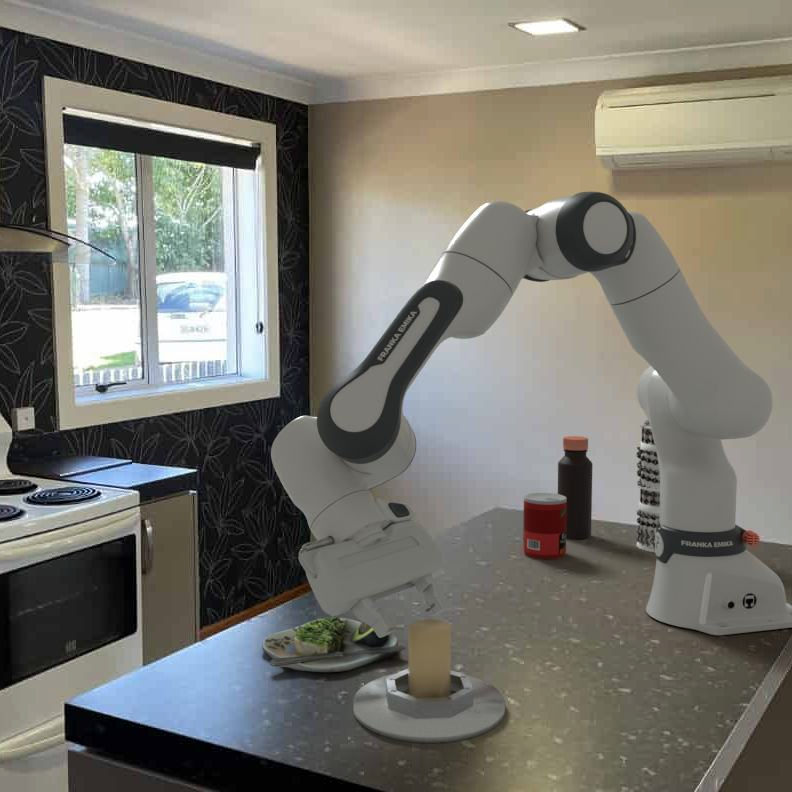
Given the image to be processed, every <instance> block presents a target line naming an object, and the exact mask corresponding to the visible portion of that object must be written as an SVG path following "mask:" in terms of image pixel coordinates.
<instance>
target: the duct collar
mask: <svg viewBox="0 0 792 792" xmlns="http://www.w3.org/2000/svg"><path fill="white" fill-rule="evenodd" d="M505 700H506V699H505V697H504V695H503V694H502V692H500V690H499V689H498V688H497V687H495V686H493V685H492V684H491V683H488V682H487V681H484V680H482V679H480V678H477V677H475V676H474V677H473V676H471V675H467V674H464V673H461V672H458V671H455V670H453V669H452V670H451V696H449V697H440V698H416V697H413V696H411V695H409V667H407V668H405V669H403V670H401V671H398V672H397V673H392V674H388V675H384V676H381V677H378V678H376V679H373V680H371V681H369V682H367V683H366V684H365V685H362V687H360V688H359V689H358V690H357V692H356V693H355V695H354V697H353V714H354V716H355V718H356V720H357V721H358V723H360V724H361V725H362V726H363V727H364V728H366V729H368V730H369V731H371V732H374V733H376V734H378V735H380V736H384V737H387V738H391V739H393V740H399V741H405V742H410V743H412V742H413V743H422V744H423V743H426V744H427V743H428V744H431V743H434V744H435V743H437V744H440V743H450V742H451V743H452V742H457V741H458V742H459V741H464V740H469V739H471V738H476V737H478V736H481V735H483V734H486V733H488V732H490V731H491V730H493V729H494V728H496V727H497V726H498V725H499V724H500V723H501V722H502V721H503V719H504V718H505V713H506V712H505V711H506V708H505V707H506V701H505Z"/></svg>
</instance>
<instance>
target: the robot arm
mask: <svg viewBox="0 0 792 792" xmlns="http://www.w3.org/2000/svg"><path fill="white" fill-rule="evenodd" d="M443 250H444V251H443V252H442V253H441V255H440V256H439V258H438V260H436V262H435V264H434V266H433V268H432V269H431V271H430V272H429V274H428V275H427V277H426V278H425V280H424V281H423V283H422V285H420V287H419V288H418V289H417V290H416V292H414V294H413V295H411V297H410V298H409V299H408V301H407V302H406V303H405V304H404V306H403V307H402V308H401V310H400V311H399V312H398V313H397V315H396V316H395V317H394V319H393V320H392V322H391V323H390V324H389V326H388V327H387V329H386V330H385V331H384V332H383V334H382V336H381V337H380V338H379V339H378V341H377V342H376V344H375V345H374V346H373V347H372V349H371V351H370V352H369V353H368V355H367V356H366V357H365V358H364V360H363V361H362V362H361V363H360V364H359V365H358V366H357V367H356V368H355V369H353V370H352V371H351V372H350V373H349V374H347V375H346V376H344V377H343V378H341V379H340V380H339V381H337V382H336V383H335V384H334V385H333V386H332V387H330V389H329V390H328V391H327V392H326V393H325V395H324V396H323V398H322V399H321V401H320V403H319V405H318V408H317V413H316V414H317V415H316V416H310V415H302V416H299V417H296V418H295V419H293V420H291V421H290V422H289V423H287V424H286V425H285V426H283V428H282V429H281V430H280V431H279V432H278V433H277V435H276V436H275V438H274V441H273V442H272V445H271V449H270V458H271V463H272V465H273V468H274V471H275V472H276V475H277V477H278V479H279V481H280V483H281V484H282V486H283V488H284V490H285V492H286V494H287V495H288V496H289V498H290V499H291V501H292V503H293V504H294V506H295V507H297V508H298V509H299V510H300V511H301V512H302V513H303V514H304V516H305V518H306V520H307V524H308V527H309V529H310V531H311V533H312V534H313V536H314V538H315V539H316V540H315V541H309V542H306V543H303V545H301V548H300V550H299V551H298V561H299V563H300V565H301V566H302V568H303V570H304V572H305V575H306V578H307V581H308V583H309V586H310V588H311V590H312V592H313V595H314V597H315V598H316V601H317V603H318V604H319V606H320V607H321V610H322V611H323V612H324V613H326V614H327V615H329V616H331V617H338V616H339V615H342V614H345V613H348V612H350V611H352V612H353V614H354V616H355V617H356V618H357V619H358V620H360V621H362V623H363V622H364V623H366V624H367V625H369V626H370V627H372V628H373V630H374V631H375V633H376V634H377V636H378V637H379V638H382V637H384V636H386V635H389V634H392V632H393V631H394V630H395V625H394V623H393V622H392V621H391V618H390V617H389V616H388V615H385V616H382V615H381V614H380V613H379V612H378V611H377V610H376V609H374V608H373V606H374V603H375V602H377V601H381V600H384V599H386V598H388V597H391V596H395V595H397V594H399V593H402V592H404V591H408V590H410V589H412V588H416V590H417V591H418V593H420V594H423V598H424V600H425V603H424V604H423V605H422V608H423V610H424V612H426V614H427V616H429V617H430V618H431V617H434V616H437V615H440V614H441V613H442V612H443V611H444V610H445V606H444V605H445V604H443V602H442V601H441V599H440V598H439V592H438V587H437V586H438V585H437V581H436V578H437V577H438V576H439V575H441V573H442V572H443V571H444V570H445V569H446V565H447V564H446V563H447V561H446V557H445V555H444V552H443V551H442V550H441V548H440V547H439V545H438V544H437V542H436V540H434V538H433V537H432V535H431V534H430V532H428V529H426V527H424V525H423V524H422V523H420V522H418V521H416V520H413V518H414V517H415V516H416V515H415V510H414V509H413V508H412V506H411V505H410V504H408V503H406V502H401V501H400V502H398V501H393V500H392V501H391V500H386V499H383V498H380V497H379V498H378V497H374V496H373V495H372V494H371V492H370V491H369V490H372V489H374V488H377V487H379V486H381V485H382V484H385V483H386V482H387V483H388V482H389V481H391V480H393V479H394V478H396V477H399V476H400V475H401V474H402V473H404V472H405V471H407V469H409V467H410V465H411V463H412V462H413V461H414V458H415V455H416V452H417V438H416V435H415V432H414V429H413V428H412V426H411V424H410V422H409V420H408V418H406V416H405V415H404V413H403V408H404V402H405V397H406V394H407V392H408V390H409V389H410V387H411V386H412V384H413V383H414V381H415V380H416V378H417V377H418V375H419V374H420V372H421V371H422V369H424V367H425V366H426V364H427V362H428V361H429V360H430V358H431V357H432V355H433V354H434V353H435V351H436V350H437V348H438V347H439V346H440V345H441V344H442V343H443V342H444V341H446V340H447V339H450V338H453V339H458V340H459V339H460V340H468V339H474V338H477V337H480V336H482V335H484V334H485V333H486V332H487V331H489V330H490V328H491V327H492V326H493V325H494V324H495V322H496V321H498V319H499V318H500V317H501V315H502V313H503V312H504V311H505V309H506V307H507V306H508V305H509V303H510V301H511V300H512V297H513V296H514V294H515V292H516V290H518V289H517V288H518V287H519V284H520V283H521V281H522V280H523V279H524V280H527V281H531V282H538V283H542V282H543V283H545V282H548V281H563V280H570V279H574V278H577V277H579V276H580V275H581V276H582V275H584V274H587V273H589V274H591V275H592V276H593V277H594V278H595V279H596V280H597V282H598V283H599V285H600V286H601V290H602V292H603V294H604V296H605V298H606V300H607V301H608V303H609V306H610V308H611V310H612V312H613V314H614V315H615V317H616V320H617V321H618V323H619V325H620V327H621V329H622V331H623V333H624V334H625V336H626V339H627V340H628V342H629V345H630V346H631V347H632V349H633V350H634V351H635V352H636V353H637V354H638V355H639V356H640V357H641V358H643V359H644V360H645V361H646V362H647V363H648V364H649V365H650V366H648V367H647V368H646V369H645V370H644V371H643V373H642V374H641V376H640V377H639V380H638V382H637V388H636V394H637V395H636V396H637V400H638V403H639V406H640V408H641V409H642V410H643V412H644V414H645V415H646V418H647V419H648V420H649V423H650V427H651V430H652V434H653V439H654V443H655V448H656V452H657V458H658V464H659V473H660V512H659V520H658V521H657V523H656V533H655V552H654V553H655V558H656V563H655V572H654V577H653V582H652V588H651V591H650V593H649V599H648V602H647V604H646V607H645V611H646V613H647V614H648V615H649V616H650V617H652V618H653V619H655V620H657V621H659V622H662V623H665V624H668V625H671V626H676V627H680V628H685V629H691V630H695V631H699V632H703V633H705V634H708V635H713V636H725V635H735V634H742V633H743V634H744V633H745V634H746V633H754V632H762V631H771V630H779V629H788V628H792V605H791V604H790V603H788V602H787V597H786V591H785V586H784V583H783V582H782V579H781V578H780V577H779V576H778V574H777V573H776V572H774V571H773V569H771V568H770V567H768V566H767V565H766V564H765V563H764V562H763V561H761V560H760V559H759V558H758V557H756V556H755V555H754V554H752V553H751V552H750V551H748V549H747V547H746V546H747V545H748V546H750V547H756V546H758V545H759V544H760V541H761V536H760V535H759V534H758V533H757V532H754V531H753V530H750V529H749V530H746V529H744V528H743V527H740V526H739V525H737V524H736V514H737V513H736V511H737V509H736V508H737V490H738V489H737V486H738V485H737V484H738V479H737V474H736V471H735V469H734V467H733V466H732V464H731V463H730V461H729V460H728V458H727V455H726V453H725V450H724V449H725V448H724V445H723V444H722V443H723V442H722V440H736V439H746V438H750V437H753V436H754V435H756V434H757V433H759V432H760V431H761V430H762V429H763V428H764V427H765V426H766V424H767V422H768V421H769V419H770V417H771V413H772V411H773V395H772V390H771V389H770V386H769V385H768V382H767V381H766V380H765V379H764V377H762V376H760V374H757V372H755V371H753V369H751V368H750V367H748V366H747V365H746V364H745V363H744V362H743V361H742V360H741V359H740V358H739V356H737V354H736V353H735V352H734V350H733V349H732V348H731V346H729V345H728V343H727V342H726V340H725V339H724V338H722V336H721V335H720V334H719V332H718V331H717V330H716V329H715V328H714V326H713V325H712V324H711V322H710V321H709V320H708V318H707V317H706V315H705V314H704V312H703V311H702V309H701V307H700V305H699V303H698V302H697V299H696V298H695V296H694V294H693V292H692V290H691V288H690V286H689V284H688V282H687V280H686V278H685V276H684V275H683V272H682V271H681V269H680V266H679V264H678V262H677V261H676V258H675V256H674V254H672V251H671V250H670V248H669V247H668V245H667V244H666V242H665V240H664V239H663V237H662V236H661V235H660V233H659V232H658V231H657V229H656V227H655V226H654V225H653V223H651V221H649V219H648V218H647V217H646V216H645V215H643V214H642V213H640V212H637V211H628V210H627V208H626V207H625V206H624V205H623V204H622V203H621V202H620V201H619V200H618V199H616V198H615V197H613V196H612V195H610V194H607V193H604V192H600V191H582V192H578V193H576V194H573V195H567V196H561V197H558V198H555V199H551V200H549V201H547V202H545V203H543V204H542V205H539V206H536V207H535V208H532V209H529V210H523V209H522V208H520V207H519V206H518V205H516V204H513V203H511V202H507V201H502V200H493V201H489V202H486V203H483V204H482V205H481V206H479V207H478V208H477V209H476V210H475V211H474V212H473V214H471V215H470V216H469V217H468V219H467V220H466V221H465V222H464V223H463V225H461V226H460V228H459V229H458V231H457V232H456V233H455V235H453V237H452V238H451V240H450V241H449V243H448V244H447V246H446V247H445V248H444V249H443Z"/></svg>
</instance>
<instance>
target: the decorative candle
mask: <svg viewBox="0 0 792 792" xmlns="http://www.w3.org/2000/svg"><path fill="white" fill-rule="evenodd" d="M640 427H641V440H640V446H637V447H636V449H637V451H636V458H637V459H639V461H638V462H636V466H637V468H638V469H637V471H636V476H637V477H639V479H638V480H637V481H636V483H637V488H638V489H639V492H640V493H639V501H638V510H636V515H637V516H639V517H637V519H636V523H637V524H638V526H636V528H635V529H636V533H637V534H636V536H635V539H636V541H637V542H636V548H637V547H638V549H640V550H641V549H642V551H644V550H645V552H650V553H655V533H656V523H657V521H658V520H659V512H660V473H659V464H658V458H657V452H656V448H655V443H654V439H653V434H652V430H651V427H650V423H649V420H648V418H647V419H646V420H645V422H644V423H643V424H642V425H640Z"/></svg>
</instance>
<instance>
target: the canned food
mask: <svg viewBox="0 0 792 792" xmlns="http://www.w3.org/2000/svg"><path fill="white" fill-rule="evenodd" d="M566 524H567V498H566V497H565V496H563V495H560V494H558V493H551V492H534V493H528V494H525V495H524V497H523V529H522V530H523V541H522V543H523V545H522V546H523V552H524V554H525V555H526V556H527V557H529V556H530V557H529V558H532V557H533V559H537V558H539V559H540V560H554V559H555V560H556V559H562V558H563V557H565V555H566V553H567V552H566V551H567V539H566Z"/></svg>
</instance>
